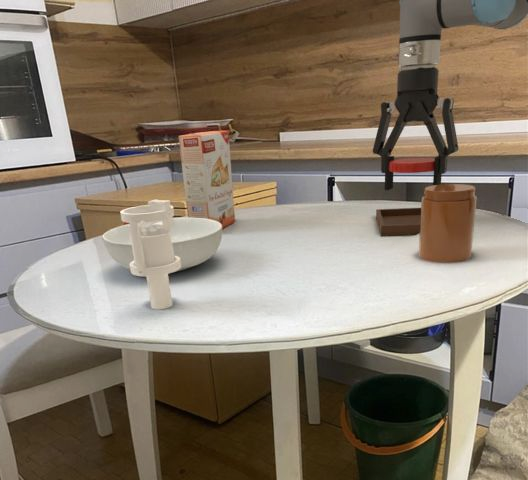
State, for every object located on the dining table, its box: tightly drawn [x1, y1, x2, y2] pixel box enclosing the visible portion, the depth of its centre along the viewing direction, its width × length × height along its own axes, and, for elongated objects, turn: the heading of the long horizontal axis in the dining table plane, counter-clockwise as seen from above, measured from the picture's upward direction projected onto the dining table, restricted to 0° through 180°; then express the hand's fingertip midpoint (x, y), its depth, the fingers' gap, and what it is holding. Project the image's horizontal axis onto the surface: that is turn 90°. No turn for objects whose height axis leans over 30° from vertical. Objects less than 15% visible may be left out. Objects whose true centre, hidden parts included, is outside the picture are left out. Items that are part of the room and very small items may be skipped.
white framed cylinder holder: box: [119, 199, 181, 310], centre depth 74 cm, size 7×7×15 cm
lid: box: [389, 157, 435, 174], centre depth 108 cm, size 10×10×2 cm
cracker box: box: [178, 130, 236, 229], centre depth 121 cm, size 14×6×21 cm, turn 160°
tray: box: [375, 207, 421, 237], centre depth 113 cm, size 18×14×2 cm
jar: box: [418, 183, 478, 264], centre depth 87 cm, size 8×8×12 cm
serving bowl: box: [102, 216, 223, 273], centre depth 95 cm, size 21×21×7 cm
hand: (412, 189), depth 110 cm, fingers closed on lid, 9 cm apart
